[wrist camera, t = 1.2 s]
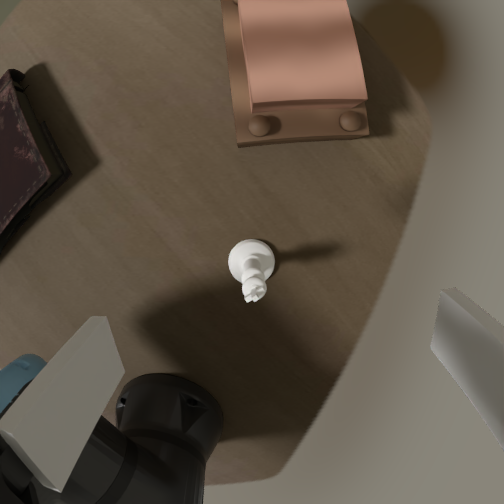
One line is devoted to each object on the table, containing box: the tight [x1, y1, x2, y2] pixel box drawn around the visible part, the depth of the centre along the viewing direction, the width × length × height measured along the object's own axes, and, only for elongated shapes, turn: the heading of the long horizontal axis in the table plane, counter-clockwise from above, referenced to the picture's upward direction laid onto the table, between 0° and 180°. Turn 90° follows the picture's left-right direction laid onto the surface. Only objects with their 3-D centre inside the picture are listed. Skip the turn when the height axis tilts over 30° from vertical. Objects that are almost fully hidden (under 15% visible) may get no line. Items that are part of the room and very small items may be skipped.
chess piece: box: [228, 239, 275, 303], centre depth 28 cm, size 5×5×10 cm
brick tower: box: [221, 0, 369, 148], centre depth 24 cm, size 16×12×9 cm
